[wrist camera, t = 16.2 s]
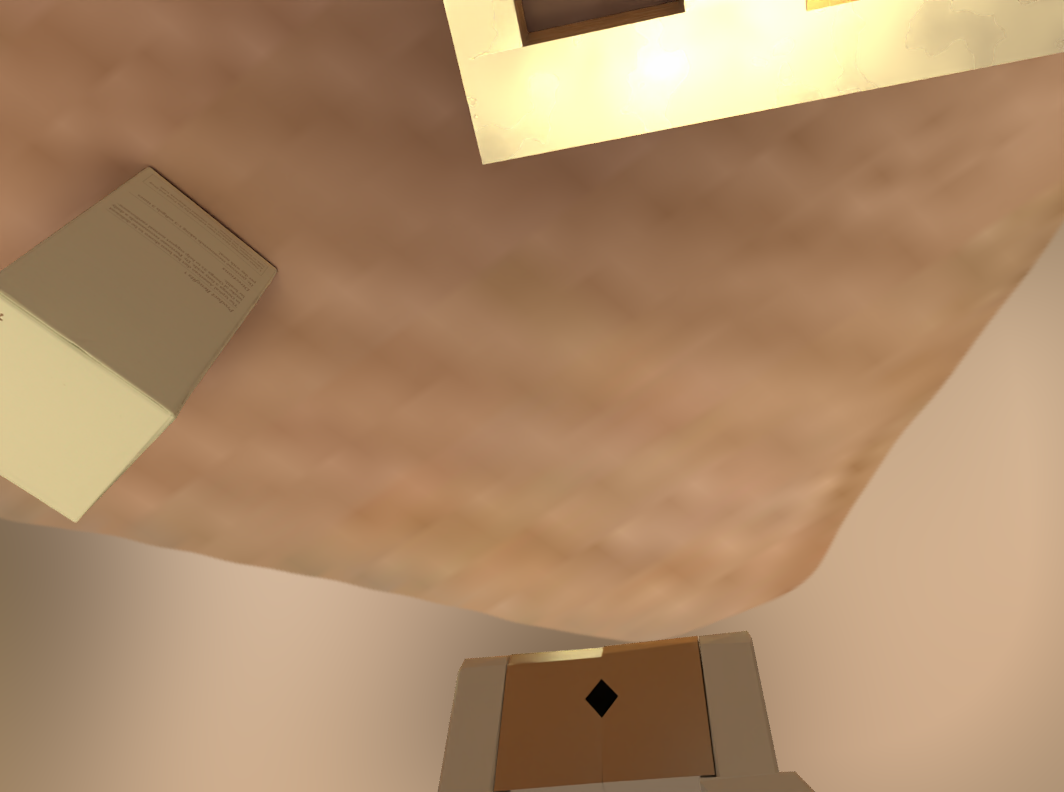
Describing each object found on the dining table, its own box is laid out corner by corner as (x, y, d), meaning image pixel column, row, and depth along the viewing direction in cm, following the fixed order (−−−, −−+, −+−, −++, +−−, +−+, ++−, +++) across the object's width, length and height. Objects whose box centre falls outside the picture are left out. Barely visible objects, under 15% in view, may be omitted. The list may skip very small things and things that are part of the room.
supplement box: (69, 269, 42) (-112, 411, 31) (150, 160, 39) (-19, 276, 28) (199, 367, 44) (73, 530, 34) (285, 272, 41) (177, 418, 31)
